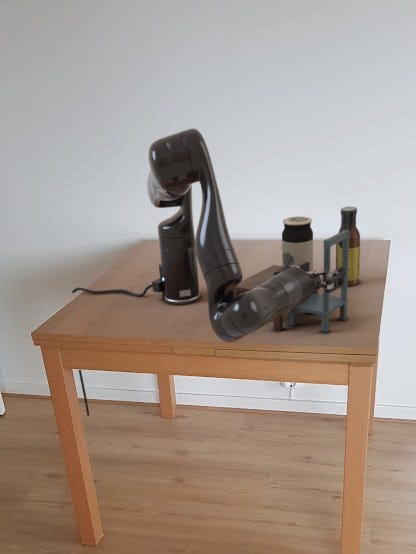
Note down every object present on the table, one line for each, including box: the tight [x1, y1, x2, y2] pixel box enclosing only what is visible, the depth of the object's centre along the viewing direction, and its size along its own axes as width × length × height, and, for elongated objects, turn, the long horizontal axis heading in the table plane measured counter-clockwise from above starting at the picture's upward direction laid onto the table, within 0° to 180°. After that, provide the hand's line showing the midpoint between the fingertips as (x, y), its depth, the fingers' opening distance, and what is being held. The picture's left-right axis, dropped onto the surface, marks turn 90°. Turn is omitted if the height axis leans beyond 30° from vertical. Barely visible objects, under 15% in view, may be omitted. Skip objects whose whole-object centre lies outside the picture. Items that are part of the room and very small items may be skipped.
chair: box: [288, 230, 349, 333], centre depth 156 cm, size 10×10×21 cm
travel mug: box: [281, 215, 314, 271], centre depth 178 cm, size 8×8×18 cm
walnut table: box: [234, 264, 319, 332], centre depth 165 cm, size 13×18×9 cm
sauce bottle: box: [335, 206, 361, 287], centre depth 178 cm, size 7×6×20 cm
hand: (325, 268), depth 147 cm, fingers open, 8 cm apart
